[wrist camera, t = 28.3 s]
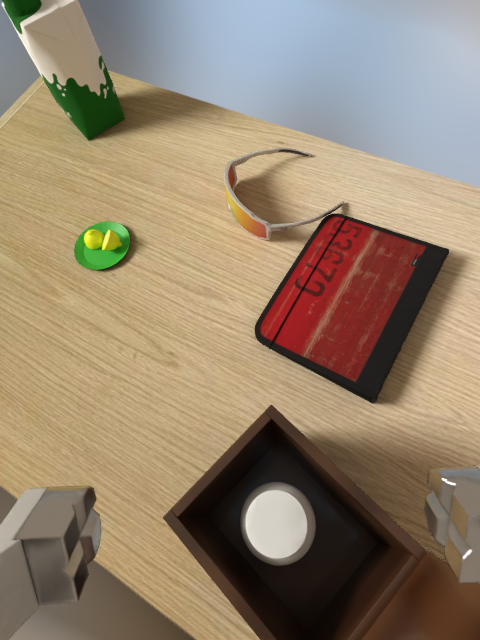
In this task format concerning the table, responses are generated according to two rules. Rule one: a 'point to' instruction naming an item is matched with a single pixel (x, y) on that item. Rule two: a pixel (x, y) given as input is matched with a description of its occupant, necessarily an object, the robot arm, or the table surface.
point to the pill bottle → (278, 523)
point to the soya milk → (68, 61)
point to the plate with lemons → (102, 245)
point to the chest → (322, 557)
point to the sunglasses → (244, 215)
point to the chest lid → (430, 607)
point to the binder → (350, 302)
